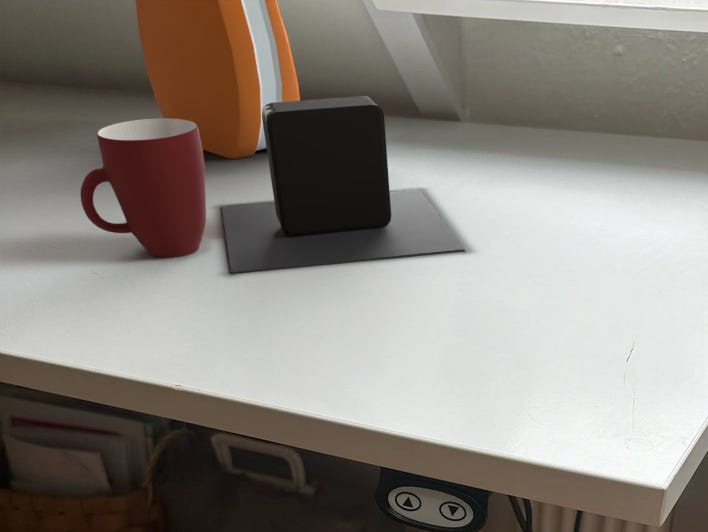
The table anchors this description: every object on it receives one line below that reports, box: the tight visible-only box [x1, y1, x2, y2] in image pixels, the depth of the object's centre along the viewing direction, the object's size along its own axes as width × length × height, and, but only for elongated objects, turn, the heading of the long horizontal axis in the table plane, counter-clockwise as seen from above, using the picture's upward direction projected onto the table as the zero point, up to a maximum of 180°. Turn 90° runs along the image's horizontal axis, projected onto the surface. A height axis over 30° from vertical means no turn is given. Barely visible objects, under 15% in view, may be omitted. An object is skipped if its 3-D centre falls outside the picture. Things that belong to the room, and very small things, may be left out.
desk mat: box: [220, 188, 466, 275], centre depth 87 cm, size 20×20×1 cm
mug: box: [79, 117, 207, 259], centre depth 79 cm, size 11×8×10 cm
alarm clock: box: [135, 0, 301, 159], centre depth 109 cm, size 22×10×23 cm, turn 42°
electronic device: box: [262, 95, 391, 237], centre depth 84 cm, size 4×10×10 cm, turn 106°
